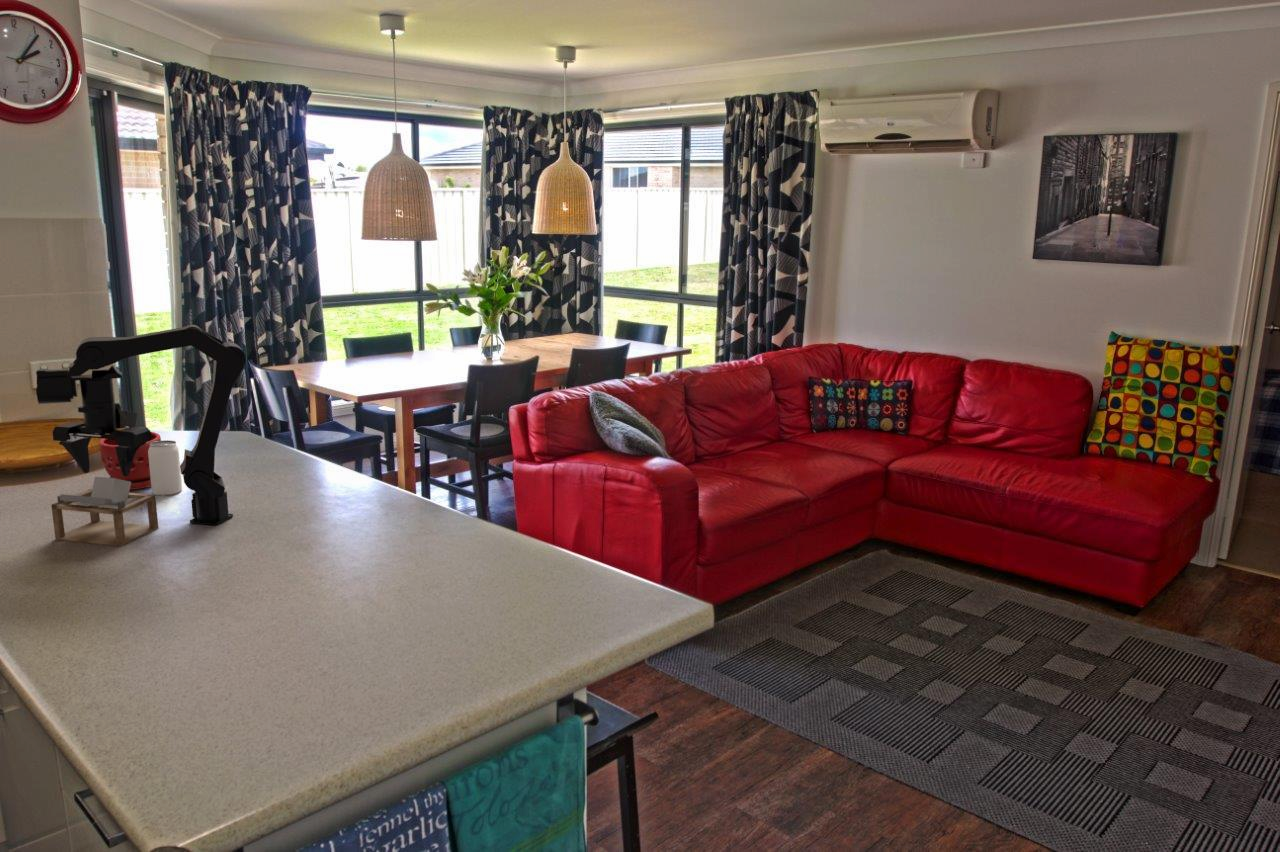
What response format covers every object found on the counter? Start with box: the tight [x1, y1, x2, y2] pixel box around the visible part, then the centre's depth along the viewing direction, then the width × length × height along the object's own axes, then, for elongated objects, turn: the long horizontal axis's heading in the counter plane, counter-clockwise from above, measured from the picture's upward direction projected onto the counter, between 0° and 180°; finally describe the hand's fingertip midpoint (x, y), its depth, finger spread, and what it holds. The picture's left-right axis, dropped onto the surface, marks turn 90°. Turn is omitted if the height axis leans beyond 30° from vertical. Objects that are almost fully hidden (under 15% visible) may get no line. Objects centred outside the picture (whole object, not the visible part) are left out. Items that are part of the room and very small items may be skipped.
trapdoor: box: [60, 493, 143, 510], centre depth 193 cm, size 12×10×1 cm
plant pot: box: [98, 431, 162, 490], centre depth 227 cm, size 13×13×12 cm
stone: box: [91, 476, 131, 504], centre depth 196 cm, size 5×5×5 cm
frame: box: [51, 488, 159, 547], centre depth 195 cm, size 15×11×9 cm
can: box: [148, 440, 183, 497], centre depth 222 cm, size 6×6×12 cm
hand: (106, 474), depth 194 cm, fingers open, 9 cm apart
